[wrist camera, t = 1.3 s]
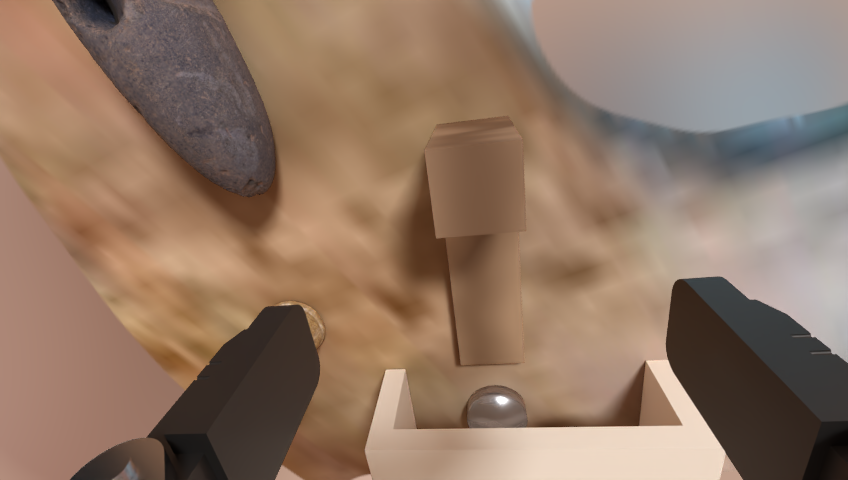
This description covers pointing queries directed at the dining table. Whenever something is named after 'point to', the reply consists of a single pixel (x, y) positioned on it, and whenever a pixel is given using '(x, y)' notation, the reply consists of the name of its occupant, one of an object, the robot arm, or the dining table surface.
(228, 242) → the dining table surface
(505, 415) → the silver metal dome
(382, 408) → the shelf
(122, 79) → the perforated stone tool
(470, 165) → the brown l-shaped block
